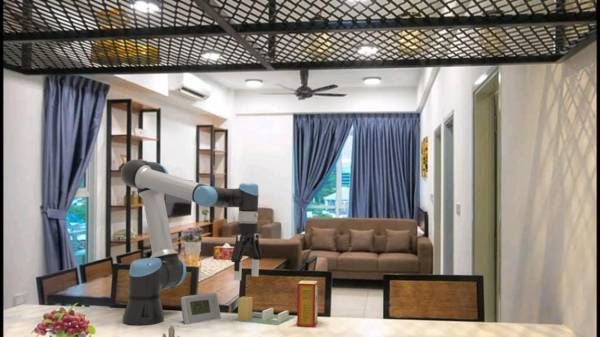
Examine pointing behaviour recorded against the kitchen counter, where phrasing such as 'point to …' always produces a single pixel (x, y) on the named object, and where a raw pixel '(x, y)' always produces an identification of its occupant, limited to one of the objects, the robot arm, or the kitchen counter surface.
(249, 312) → the tan yellow block
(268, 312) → the board
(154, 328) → the kitchen counter surface
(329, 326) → the kitchen counter surface
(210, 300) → the digital clock
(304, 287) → the baking soda box
